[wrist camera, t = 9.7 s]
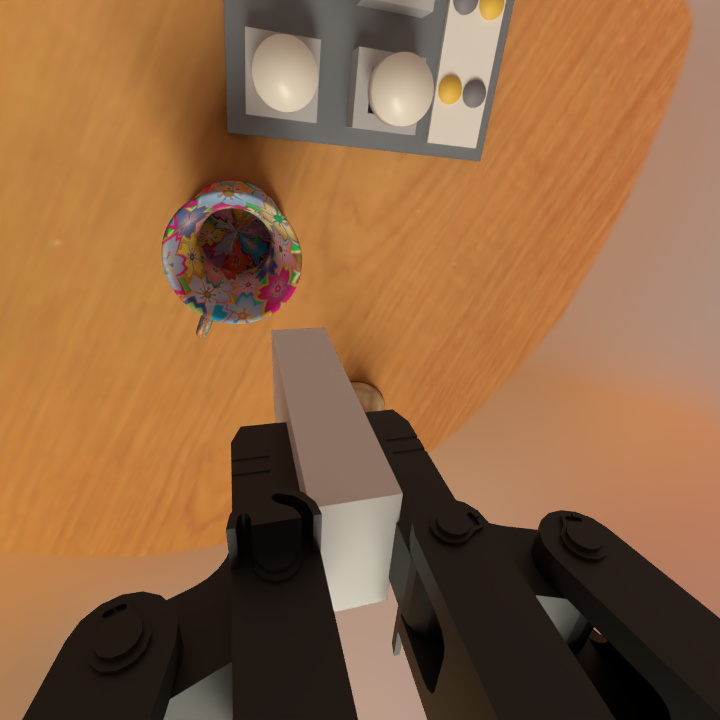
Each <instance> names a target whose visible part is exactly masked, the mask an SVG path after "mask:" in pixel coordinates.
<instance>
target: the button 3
mask: <svg viewBox="0 0 720 720" xmlns="http://www.w3.org/2000/svg"><path fill="white" fill-rule="evenodd" d="M433 92H434V83H433V77H432V74H431V71H430V69H429V67H428V65H427V64H426V62H425V61H424V60H423V59H422V58H421V57H419V56H418V55H416V54H414V53H411V52H398V53H395V54H393V55H391V56H388V57H386V58H384V59H383V60H382V61H380V62H379V63H378V64H377V65H376V67H375V68H374V69H373V71H372V73H371V76H370V78H369V82H368V90H367V93H368V101H369V105H370V107H371V110H372V111H373V113H374V114H375V116H376V117H377V118H378V119H379V120H380V121H382V122H383V123H385V124H387V125H391V126H408V125H411V124H414V123H416V122H417V121H419V120H420V119H421V118H422V117H423V116H424V115H425V113H426V112H427V110H428V109H429V107H430V105H431V102H432V98H433Z"/></svg>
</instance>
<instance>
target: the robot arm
mask: <svg viewBox="0 0 720 720" xmlns="http://www.w3.org/2000/svg"><path fill="white" fill-rule="evenodd" d="M271 331H272V359H273V387H274V412H275V418H276V423H272V424H263V425H253V426H244V427H240V429H239V430H238V432H237V434H236V435H235V437H234V439H233V440H232V442H231V462H232V464H231V467H232V513H231V514H230V516H229V520H228V524H227V528H226V534H227V542H228V551H229V553H228V555H227V558H226V559H225V561H224V562H223V563H222V565H221V566H220V567H219V569H218V570H217V571H215V572H214V573H213V574H212V575H211V576H210V577H209V578H207V579H206V580H204V581H203V582H201V583H199V584H198V585H196V586H194V587H193V588H191V589H189V590H187V591H185V592H183V593H181V594H178V595H177V596H174V597H172V598H170V599H168V600H165V599H164V598H163V597H162V596H160V595H157V594H152V593H147V592H137V593H130V594H124V595H121V596H118V597H116V598H114V599H112V600H110V601H108V602H106V603H103V604H101V605H100V606H98V607H97V608H96V609H95V610H93V611H92V612H91V613H90V614H88V615H87V616H86V617H85V618H84V619H82V620H81V621H80V622H79V624H78V625H77V626H76V628H75V629H74V630H73V632H72V633H71V634H70V636H69V637H68V638H67V640H66V641H65V643H64V645H63V647H62V649H61V650H60V652H59V654H58V656H57V657H56V659H55V661H54V663H53V665H52V666H51V668H50V670H49V672H48V674H47V676H46V677H45V679H44V681H43V683H42V685H41V687H40V688H39V690H38V692H37V694H36V696H35V698H34V700H33V701H32V703H31V705H30V707H29V709H28V710H27V712H26V714H25V716H24V718H23V720H358V718H357V713H356V708H355V704H354V700H353V695H352V690H351V686H350V682H349V677H348V672H347V668H346V663H345V659H344V655H343V650H342V646H341V642H340V637H339V632H338V628H337V623H336V619H335V614H334V612H335V611H340V610H344V609H349V608H354V607H358V606H363V605H367V604H372V603H376V602H380V601H385V600H387V599H388V591H389V584H390V583H391V586H392V589H393V591H394V594H395V597H396V600H397V602H398V610H397V616H396V622H395V628H394V634H393V639H392V646H393V654H394V656H395V655H398V654H400V648H401V643H402V645H403V648H404V651H405V654H406V657H407V660H408V663H409V666H410V669H411V672H412V675H413V678H414V681H415V684H416V687H417V690H418V693H419V696H420V699H421V702H422V705H423V708H424V711H425V714H426V717H427V720H720V618H719V617H717V616H716V615H715V614H714V613H713V612H711V611H710V610H709V609H708V608H706V607H705V606H704V605H703V604H701V603H700V602H699V601H698V600H696V599H695V598H694V597H693V596H691V595H690V594H689V593H688V592H686V591H685V590H684V589H683V588H681V587H680V586H679V585H678V584H676V583H675V582H674V581H673V580H671V579H670V578H669V577H668V576H666V575H665V574H664V573H663V572H661V571H660V570H659V569H658V568H656V567H655V566H654V565H652V563H650V562H649V561H648V560H647V559H645V558H644V557H643V556H642V555H640V554H639V553H638V552H637V551H635V550H634V549H633V548H631V547H630V546H629V545H628V544H627V543H625V542H624V541H623V540H622V539H620V538H619V537H618V536H617V535H615V534H614V533H613V532H612V531H610V530H609V529H608V528H607V527H605V526H603V525H602V524H600V523H599V522H597V521H596V520H594V519H593V518H590V517H588V516H585V515H582V514H580V513H577V512H571V511H562V510H561V511H556V512H552V513H549V514H547V515H546V516H545V517H544V518H543V519H542V520H541V522H540V525H539V527H538V530H534V529H525V528H516V527H507V526H500V525H495V524H491V523H488V521H487V520H486V519H485V518H484V517H483V516H482V515H481V514H480V513H479V511H478V510H476V509H474V508H473V507H471V506H469V505H468V504H466V503H464V502H460V501H457V500H456V499H455V498H454V496H453V495H452V493H451V492H450V490H449V488H448V487H447V485H446V483H445V482H444V480H443V478H442V477H441V475H440V473H439V472H438V470H437V468H436V467H435V465H434V463H433V462H432V460H431V458H430V457H429V455H428V453H427V452H426V451H425V450H424V447H423V445H422V443H421V442H420V440H419V439H417V435H416V433H415V432H414V430H413V428H412V427H411V425H410V423H409V422H408V421H407V420H406V419H405V418H403V417H402V416H401V415H399V414H398V413H397V412H395V411H394V410H393V409H392V410H382V411H373V412H364V410H363V408H362V406H361V404H360V402H359V400H358V397H357V395H356V393H355V391H354V389H353V387H352V385H351V383H350V381H349V378H348V376H347V374H346V372H345V370H344V368H343V366H342V364H341V361H340V359H339V357H338V355H337V353H336V351H335V349H334V347H333V345H332V342H331V340H330V338H329V336H328V334H327V332H326V330H325V328H305V329H285V330H271ZM594 627H595V628H596V629H597V630H598V631H599V632H600V633H601V634H602V635H601V634H599V633H598V632H596V631H595V630H594V629H593V628H594Z"/></svg>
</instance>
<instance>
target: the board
mask: <svg viewBox="0 0 720 720" xmlns="http://www.w3.org/2000/svg"><path fill="white" fill-rule="evenodd" d="M513 5H514V0H224V24H225V60H226V97H227V133H235V134H244V135H253V136H261V137H270V138H279V139H288V140H296V141H305V142H314V143H323V144H331V145H340V146H349V147H358V148H366V149H375V150H384V151H393V152H401V153H410V154H419V155H428V156H437V157H445V158H454V159H463V160H472V161H480V160H481V155H482V150H483V146H484V141H485V136H486V132H487V127H488V122H489V118H490V113H491V108H492V103H493V99H494V94H495V89H496V85H497V80H498V75H499V70H500V66H501V61H502V56H503V52H504V47H505V42H506V38H507V33H508V28H509V23H510V19H511V14H512V9H513ZM276 34H288V35H291V36H294V37H296V38H298V39H299V40H301V41H302V42H303V43H304V44H305V45H306V46H307V47H308V48H309V50H310V51H311V53H312V54H313V57H314V59H315V62H316V65H317V69H318V84H317V89H316V92H315V94H314V96H313V98H312V99H311V101H310V102H309V103H308V104H307V105H306V106H305V107H303V108H302V109H300V110H297V111H293V112H279V111H276V110H274V109H272V108H270V107H269V106H267V105H266V104H265V103H264V102H263V101H262V100H261V98H260V97H259V96H258V94H257V92H256V90H255V88H254V85H253V81H252V73H251V71H252V62H253V57H254V54H255V52H256V50H257V48H258V46H259V45H260V44H261V43H262V42H263V41H264V40H265V39H267V38H268V37H270V36H272V35H276ZM398 52H411V53H414V54H416V55H418V56H419V57H421V58H422V59H423V60H424V61H425V62H426V64H427V65H428V67H429V69H430V71H431V74H432V77H433V83H434V92H433V98H432V102H431V105H430V107H429V109H428V110H427V112H426V113H425V115H424V116H423V117H422V118H421V119H420V120H419V121H417V122H416V123H414V124H411V125H408V126H391V125H387V124H385V123H383V122H382V121H380V120H379V119H378V118H377V117H376V116H375V114H374V113H373V111H372V110H371V107H370V105H369V101H368V93H367V90H368V82H369V78H370V76H371V73H372V71H373V69H374V68H375V67H376V65H377V64H378V63H379V62H380V61H382V60H383V59H384V58H386V57H388V56H391V55H393V54H395V53H398Z"/></svg>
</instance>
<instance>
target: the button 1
mask: <svg viewBox="0 0 720 720" xmlns="http://www.w3.org/2000/svg"><path fill="white" fill-rule="evenodd" d="M251 73H252V81H253V85H254V88H255V90H256V92H257V94H258V96H259V97H260V98H261V100H262V101H263V102H264V103H265V104H266V105H267V106H269V107H270V108H272V109H274V110H276V111H279V112H293V111H297V110H300V109H302V108H303V107H305V106H306V105H307V104H308V103H309V102H310V101H311V99H312V98H313V96H314V94H315V92H316V89H317V84H318V69H317V65H316V62H315V59H314V57H313V54H312V53H311V51H310V50H309V48H308V47H307V46H306V45H305V44H304V43H303V42H302V41H301V40H299V39H298V38H296V37H294V36H291V35H288V34H276V35H272V36H270V37H268V38H267V39H265V40H264V41H263V42H262V43H261V44H260V45H259V46H258V48H257V50H256V52H255V54H254V57H253V62H252V71H251Z"/></svg>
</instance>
